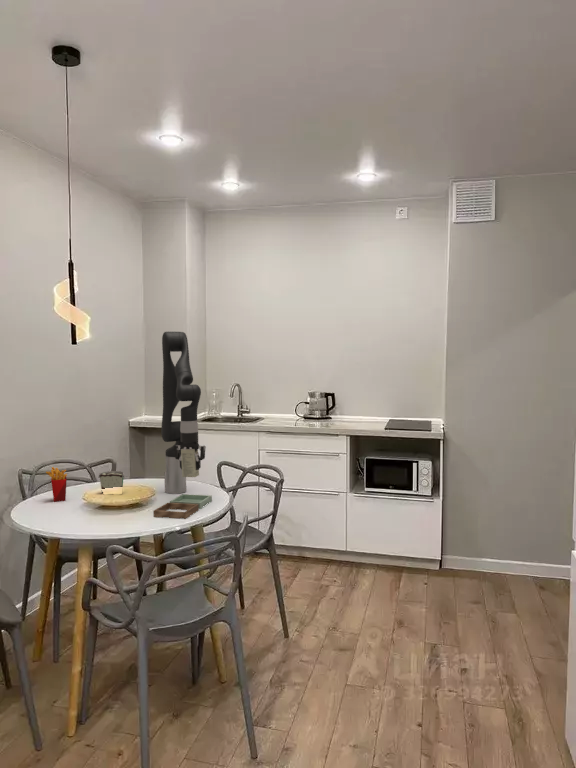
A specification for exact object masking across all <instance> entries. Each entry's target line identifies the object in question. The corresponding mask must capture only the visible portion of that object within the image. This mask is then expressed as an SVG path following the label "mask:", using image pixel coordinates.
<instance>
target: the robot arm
mask: <svg viewBox="0 0 576 768" xmlns="http://www.w3.org/2000/svg"><path fill="white" fill-rule="evenodd" d="M188 341H189V340H188V336H187V335H186V333H185V332H184V331H164V332H163V334H162V337H161V344H162V345H161V348H162V349H161V350H162V363H163V364H162V365H163V366H162V367H163V369H162V371H163V372H162V417H161V418H162V419H161V431H160V432H161V433H160V434H161V438H162V440H163V441H164V442H165V443H171V442H175V443H174V444H173V445H172V446H170V447H168V448H167V449H166V450H165V472H164V474H163V475H164V493H167V494H172V495H174V494H177V495H178V494H185V493H186V492H187V477H182V460H181V449H184V450H185V449H195V452H196V451H197V450H198V452H197V454H196V453H195V452H194V456H195V459H196V470H199V471H200V469H201V461H203V460H205V457H206V448H207V447H206V446H205V445H200V444H199V424H198V407H199V402H200V400H201V395H202V391H201V390H202V389H201V388H200V386H199V384H193V382H194V377H193V372H192V368H191V364H190V363H191V362H190V351H189V342H188ZM172 352H179V353H180V357H179V359H178V360H177V361H176V363H174V362H173V360H172V355H171V353H172ZM179 402H191V403H190V404H189V405H185V406H183V407H181V408H180V420H179V421H172V418H173V415H174V411H175V410H176V407H177V406H178V404H179ZM199 451H200V454H199Z"/></svg>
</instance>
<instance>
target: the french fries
mask: <svg viewBox="0 0 576 768" xmlns="http://www.w3.org/2000/svg"><path fill="white" fill-rule="evenodd" d="M66 471H67V469H63V470H61V471H60V470H59V468H58V467H54V466H52V467H51V470H50V471H45V474H46V475H48V476H49V477H50V479H51V480H50V481H51V489H52V490H51V491H52V496H53V497H52V498H53V502H54V503H58V502H66V497H67V476H68V473H65V472H66Z"/></svg>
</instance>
